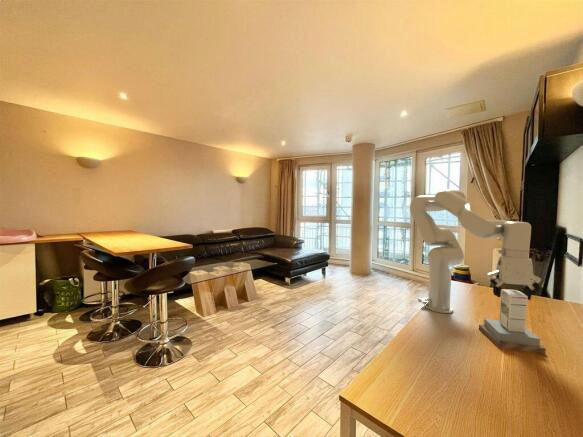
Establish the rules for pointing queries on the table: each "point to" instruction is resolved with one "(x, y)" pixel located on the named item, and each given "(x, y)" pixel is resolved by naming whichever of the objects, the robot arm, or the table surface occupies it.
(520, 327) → the syrup box
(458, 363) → the table surface
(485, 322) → the slate-grey slab
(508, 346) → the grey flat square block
